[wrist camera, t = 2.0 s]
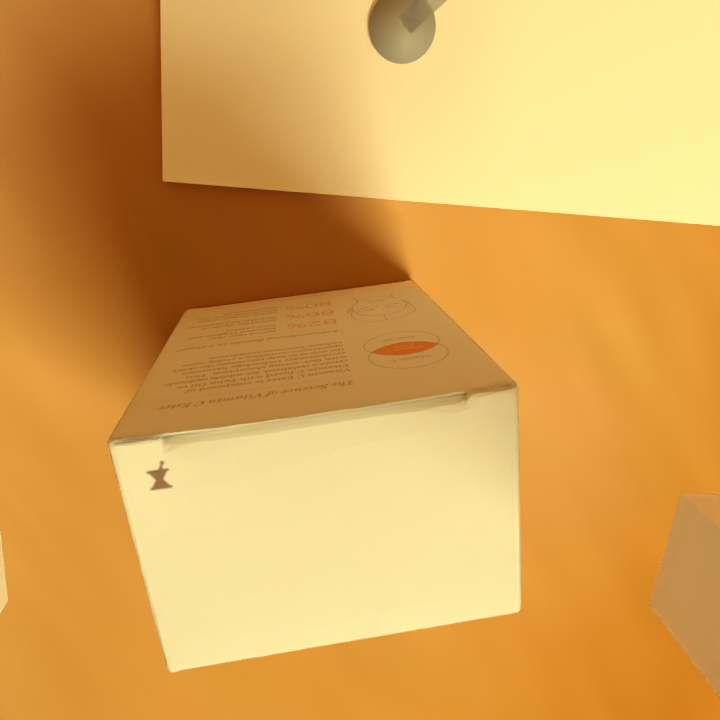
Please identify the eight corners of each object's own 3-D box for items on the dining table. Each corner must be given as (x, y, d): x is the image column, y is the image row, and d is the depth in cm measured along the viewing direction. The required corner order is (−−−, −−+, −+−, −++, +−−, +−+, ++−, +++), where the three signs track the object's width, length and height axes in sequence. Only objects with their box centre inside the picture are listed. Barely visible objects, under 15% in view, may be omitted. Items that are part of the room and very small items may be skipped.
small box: (212, 452, 23) (156, 683, 13) (183, 304, 21) (91, 442, 11) (427, 422, 24) (529, 622, 14) (417, 275, 22) (525, 384, 12)
